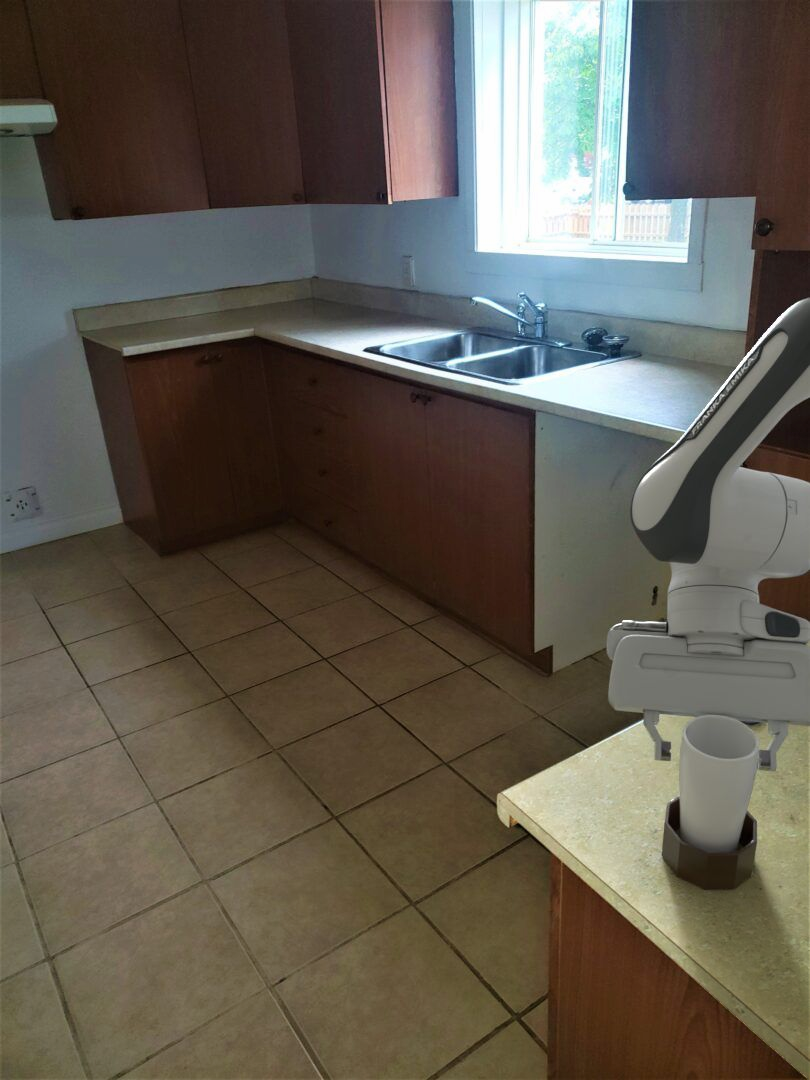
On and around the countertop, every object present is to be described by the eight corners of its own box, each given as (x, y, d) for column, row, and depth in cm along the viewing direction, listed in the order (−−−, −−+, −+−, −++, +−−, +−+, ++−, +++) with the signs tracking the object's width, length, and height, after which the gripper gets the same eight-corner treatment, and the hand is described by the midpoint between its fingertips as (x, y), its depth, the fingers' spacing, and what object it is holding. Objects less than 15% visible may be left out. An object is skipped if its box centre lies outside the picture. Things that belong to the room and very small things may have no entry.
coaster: (761, 709, 101) (761, 707, 101) (761, 727, 98) (762, 725, 98) (730, 704, 103) (730, 702, 102) (729, 721, 100) (730, 719, 100)
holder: (752, 832, 84) (757, 799, 82) (751, 900, 77) (757, 865, 75) (666, 815, 87) (669, 782, 85) (658, 879, 80) (661, 845, 78)
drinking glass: (758, 861, 80) (776, 741, 74) (710, 894, 78) (725, 771, 71) (703, 820, 86) (715, 704, 79) (656, 848, 83) (666, 731, 76)
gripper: (607, 611, 82) (603, 752, 78) (829, 623, 77) (837, 774, 73) (606, 626, 88) (602, 757, 84) (813, 638, 83) (819, 778, 79)
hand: (713, 765), depth 78 cm, fingers open, 8 cm apart
